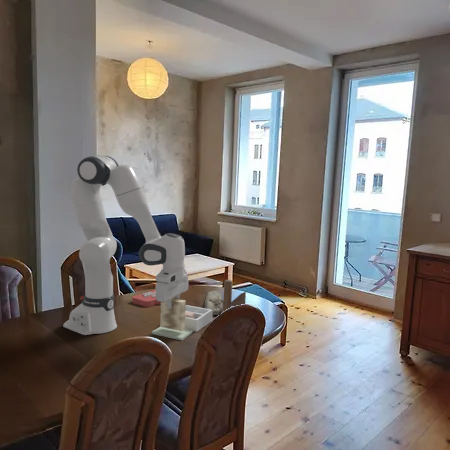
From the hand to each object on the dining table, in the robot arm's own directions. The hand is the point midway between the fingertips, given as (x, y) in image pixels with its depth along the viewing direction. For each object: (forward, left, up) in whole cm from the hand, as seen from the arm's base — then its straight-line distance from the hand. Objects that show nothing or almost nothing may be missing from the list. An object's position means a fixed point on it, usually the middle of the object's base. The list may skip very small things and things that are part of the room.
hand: (172, 306), depth 171 cm
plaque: (-30, +32, -12) cm, 46 cm away
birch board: (0, 0, -9) cm, 9 cm away
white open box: (0, +14, -12) cm, 18 cm away
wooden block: (+16, +27, -12) cm, 33 cm away
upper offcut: (0, +10, -9) cm, 14 cm away
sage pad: (0, 0, -12) cm, 12 cm away
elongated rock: (-1, +43, -12) cm, 44 cm away
